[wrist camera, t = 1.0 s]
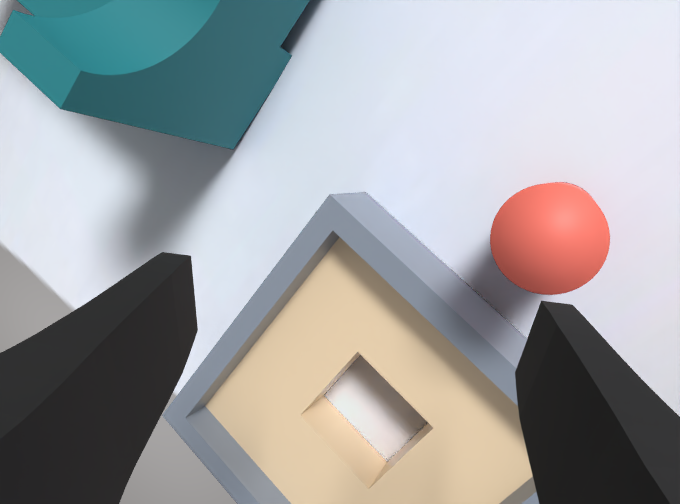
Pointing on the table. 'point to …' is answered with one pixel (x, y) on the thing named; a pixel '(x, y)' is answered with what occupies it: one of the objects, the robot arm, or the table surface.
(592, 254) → the peg
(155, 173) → the table surface
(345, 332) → the box
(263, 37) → the teal l-shaped bracket
